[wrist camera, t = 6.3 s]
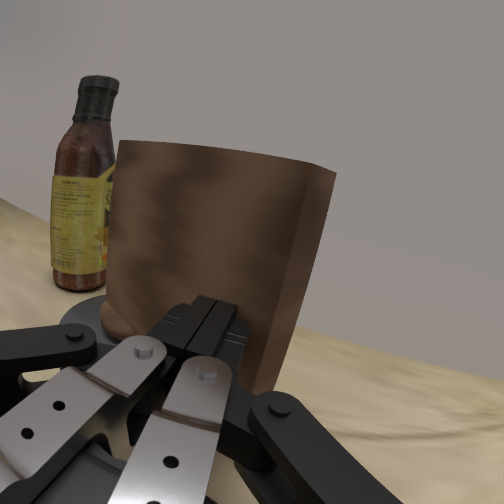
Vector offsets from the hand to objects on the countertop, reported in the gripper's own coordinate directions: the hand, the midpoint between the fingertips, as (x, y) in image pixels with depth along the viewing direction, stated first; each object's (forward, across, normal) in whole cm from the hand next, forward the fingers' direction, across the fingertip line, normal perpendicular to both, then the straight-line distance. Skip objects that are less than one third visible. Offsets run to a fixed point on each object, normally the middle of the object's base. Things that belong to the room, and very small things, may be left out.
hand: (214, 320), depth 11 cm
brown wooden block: (+3, +3, +6) cm, 7 cm away
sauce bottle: (+11, +17, +8) cm, 22 cm away
